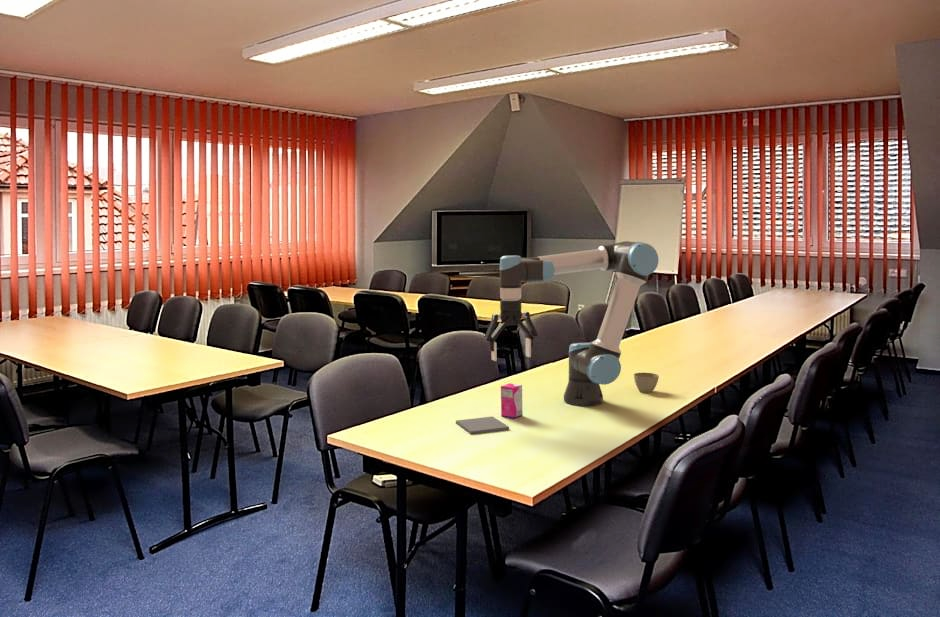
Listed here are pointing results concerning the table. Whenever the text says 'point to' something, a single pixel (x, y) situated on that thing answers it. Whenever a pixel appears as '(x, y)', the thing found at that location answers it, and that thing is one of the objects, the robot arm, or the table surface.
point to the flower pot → (646, 381)
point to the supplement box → (511, 401)
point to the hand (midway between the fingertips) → (511, 358)
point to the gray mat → (482, 425)
